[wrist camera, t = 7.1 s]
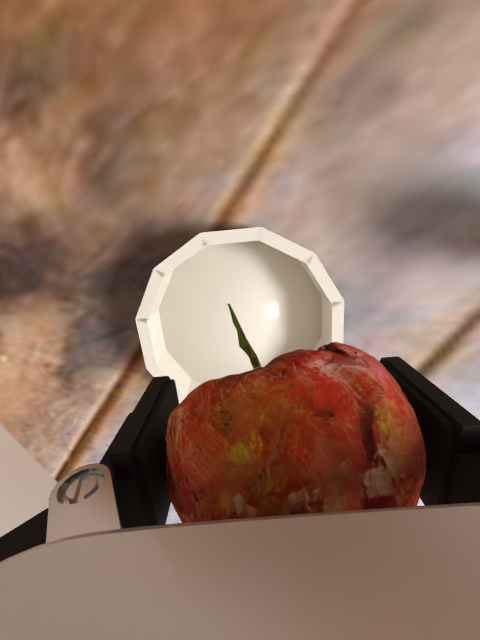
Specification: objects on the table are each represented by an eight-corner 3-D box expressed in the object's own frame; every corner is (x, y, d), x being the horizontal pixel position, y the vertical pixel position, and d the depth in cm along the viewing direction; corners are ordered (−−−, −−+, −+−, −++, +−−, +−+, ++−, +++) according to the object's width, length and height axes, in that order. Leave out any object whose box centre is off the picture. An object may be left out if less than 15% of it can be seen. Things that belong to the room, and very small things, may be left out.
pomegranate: (174, 354, 14) (235, 598, 11) (81, 291, 7) (167, 913, 4) (312, 305, 14) (419, 530, 11) (347, 197, 7) (675, 719, 4)
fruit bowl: (137, 238, 27) (117, 240, 22) (328, 219, 26) (346, 218, 22) (170, 401, 32) (159, 427, 28) (327, 388, 32) (341, 414, 27)
